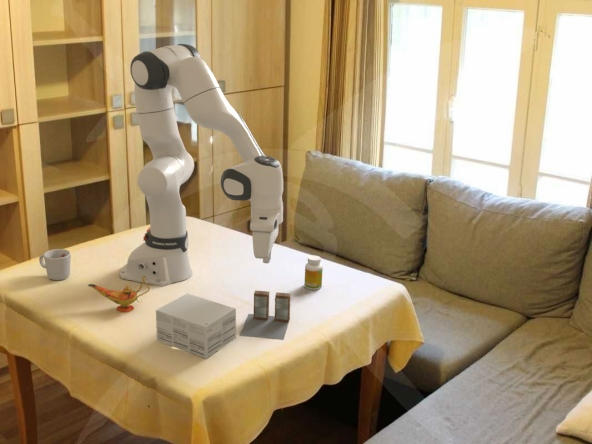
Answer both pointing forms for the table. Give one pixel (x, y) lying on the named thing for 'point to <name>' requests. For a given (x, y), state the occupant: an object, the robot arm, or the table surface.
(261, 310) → the left walnut tile
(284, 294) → the right walnut tile
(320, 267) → the supplement bottle
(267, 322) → the slate rubber mat
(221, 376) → the table surface
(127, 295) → the magic lamp
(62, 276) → the cup
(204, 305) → the supplement box
